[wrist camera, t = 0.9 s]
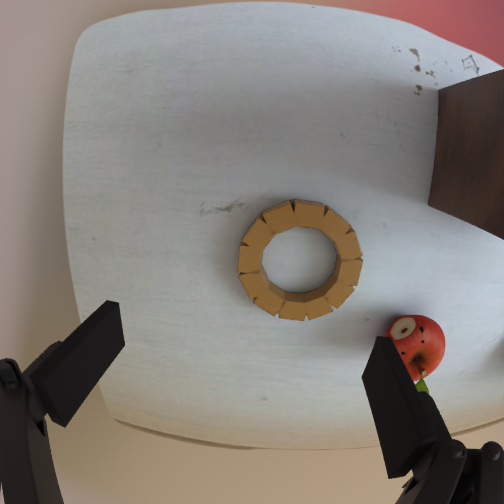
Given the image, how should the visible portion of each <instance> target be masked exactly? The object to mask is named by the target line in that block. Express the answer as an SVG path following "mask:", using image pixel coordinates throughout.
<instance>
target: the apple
mask: <svg viewBox="0 0 504 504" xmlns="http://www.w3.org/2000/svg"><path fill="white" fill-rule="evenodd" d="M385 337H391V339H392V340H393V342H394V344H395V346H396V348H397V350H398V352H399V354H400V356H401V358H402V360H403V362H404V364H405V366H406V368H407V370H408V372H409V374H410V376H411V378H412V380H413V381H417V380H419V381H418V383H417V384H416V385H415V386H416V388H417V390H418V391H426V392H427V393H428V394H429V391H428V388H427V386H426V384H425V382H424V380H423V378H424V377H426V376H428V375H429V374H430V373H431V372H433V371H434V370H435V368H436V367H437V366H438V365H439V364H440V362H441V360H442V358H443V356H444V352H445V337H444V333H443V331H442V329H441V327H440V326H439V325H438V324H437V323H436V322H435V321H434V320H432V319H430V318H428V317H425V316H422V315H405V316H401V317H399V318H398V319H397V320H396V321H394V323H393V324H392V325H391V326H390V327H389V328H388V330H387V331H386V334H385Z"/></svg>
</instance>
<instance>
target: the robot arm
mask: <svg viewBox="0 0 504 504" xmlns="http://www.w3.org/2000/svg"><path fill="white" fill-rule="evenodd" d="M124 346H125V341H124V335H123V329H122V322H121V315H120V308H119V303H117V302H113V301H108V300H107V301H105V302H104V303H103V304H102V305H101V306H100V307H99V308H98V309H97V310H96V311H95V312H93V313H92V314H91V315H90V316H89V317H88V318H87V319H86V320H85V321H84V322H83V323H82V324H81V325H80V326H79V327H78V328H77V329H76V330H74V331H73V332H72V333H71V334H70V335H69V336H68V337H67V338H66V339H65V340H64V341H63V342H61V341H58V342H56V343H54V344H52V345H50V346H49V347H48V348H47V349H46V350H45V351H44V353H42V354H41V355H40V356H39V358H37V359H36V360H35V361H34V362H33V363H32V364H31V365H30V366H29V367H28V368H27V369H26V370H25V371H24V372H23V373H21V371H20V368H19V367H18V364H17V362H16V361H15V360H13V359H7V358H6V359H2V360H0V490H1V483H2V489H3V495H4V502H5V504H64V502H63V499H62V496H61V492H60V489H59V485H58V481H57V477H56V473H55V469H54V464H53V460H52V455H51V449H50V445H49V438H48V432H47V425H46V421H45V418H44V416H45V415H46V414H47V413H48V414H49V416H50V418H51V420H52V421H53V422H55V423H57V424H59V425H60V426H63V427H66V426H67V424H68V423H69V422H70V420H71V419H72V417H73V416H74V414H75V413H76V411H77V410H78V409H79V407H80V406H81V404H82V403H83V402H84V400H85V399H86V397H87V396H88V395H89V393H90V392H91V390H92V389H93V388H94V386H95V385H96V383H97V382H98V381H99V379H100V378H101V377H102V375H103V374H104V373H105V371H106V370H107V369H108V367H109V366H110V365H111V363H112V362H113V361H114V359H115V358H116V357H117V355H118V354H119V353H120V351H121V350H122V349H123V347H124ZM362 380H363V383H364V387H365V390H366V394H367V397H368V400H369V404H370V408H371V411H372V415H373V418H374V422H375V426H376V429H377V433H378V437H379V441H380V445H381V448H382V453H383V457H384V461H385V465H386V470H387V474H388V479H392V478H398V477H403V476H405V475H406V474H407V473H408V472H409V471H410V470H411V469H412V471H413V476H412V478H410V480H409V481H407V482H406V484H404V486H403V487H402V488H404V487H405V489H404V491H403V493H402V494H401V496H400V497H399V499H398V500H397V502H396V503H395V504H504V450H503V449H502V447H501V446H500V445H499V444H498V443H496V442H493V441H490V442H487V443H485V444H484V445H483V447H482V448H481V449H467V448H466V447H465V446H464V444H463V443H462V442H460V441H458V440H455V439H452V438H451V436H450V434H449V431H448V429H447V427H446V425H445V423H444V421H443V418H442V416H441V415H440V412H439V410H438V408H437V406H436V404H435V402H434V400H433V398H432V397H431V396H430V395H429V394H428V393H427V392H426V391H418V390H417V388H416V386H415V384H414V382H413V380H412V378H411V376H410V374H409V372H408V370H407V368H406V366H405V364H404V362H403V360H402V358H401V356H400V354H399V352H398V350H397V348H396V346H395V344H394V342H393V340H392V339H391V337H383V336H377V338H376V341H375V344H374V347H373V349H372V352H371V355H370V357H369V360H368V363H367V365H366V368H365V370H364V373H363V375H362Z"/></svg>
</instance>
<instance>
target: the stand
mask: <svg viewBox="0 0 504 504" xmlns="http://www.w3.org/2000/svg"><path fill="white" fill-rule="evenodd" d="M428 206H430V207H433V208H435V209H438V210H440V211H442V212H445V213H447V214H449V215H452V216H454V217H456V218H459V219H461V220H463V221H465V222H468V223H470V224H472V225H474V226H476V227H478V228H481V229H483V230H485V231H487V232H489V233H491V234H493V235H495V236H497V237H499V238H501V239H503V240H504V69H503V70H499V71H496V72H492V73H489V74H486V75H482V76H479V77H476V78H473V79H469V80H466V81H463V82H460V83H457V84H454V85H451V86H448V87H445V88H443V89H440V90H439V108H438V128H437V141H436V152H435V161H434V169H433V177H432V183H431V190H430V196H429V202H428Z"/></svg>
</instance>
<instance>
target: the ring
mask: <svg viewBox="0 0 504 504" xmlns="http://www.w3.org/2000/svg"><path fill="white" fill-rule="evenodd" d="M295 226H300V227H307V228H315V229H319V230H320V231H321V232H322V233H324V234H325V235H326V236H328V237H329V238H330V239H331V240H333V243H334V246H335V248H336V251H337V260H336V265H335V269H334V273H333V274H332V275H331V276H330V278H329V279H328V280H327V281H326V282H325V283H324V284H323V286H322V287H320V288H317V289H314V290H312V291H309V292H307V293H304V294H302V293H294V292H285V291H283V290H282V289H281V288H279V287H278V286H276V285H275V284H273V283H272V282H271V281H269V279H268V277H267V275H266V272H265V270H264V268H263V266H262V255H263V250H264V249H265V247H266V246H267V245H268V243H269V242H270V241H271V240H272V238H273V237H274V236H275V234H278V233H280V232H283V231H285V230H288V229H290V228H293V227H295ZM361 256H362V252H361V249H360V245H359V242H358V239H357V236H356V234H355V231H354V230H353V229H352V228H351V225H350V224H349V223H348V222H347V221H346V220H345V219H343V218H342V217H341V216H340V215H339V214H337V213H336V212H335V211H334V210H332V209H331V208H330V207H329V206H327V205H326V206H324V205H323V204H322V203H319V202H312V201H305V200H297V199H295V200H294V206H293V207H292V204H291V202H290V200H288V201H285V202H283V203H280V204H278V205H276V206H273V207H271V208H268V209H266V210H264V212H263V215H261V214H259V215H258V217H257V218H256V220H255V221H254V222H253V224H252V225H251V226H250V228H249V229H248V230H247V232H246V233H245V234H244V237H243V239H242V242H241V244H240V247H239V259H238V272H240V274H239V279H240V281H241V283H242V285H243V287H244V289H245V291H246V292H247V294H248V296H249V298H250V299H252V298H254V301H253V303H254V304H256V305H257V306H259V307H260V308H262V309H263V310H265V311H266V312H268V313H269V314H271V315H272V316H275V315H276V314H277V313H278V312H279V318H282V319H291V320H300V321H304V320H305V315H307V317H308V320H311V319H314V318H317V317H320V316H322V315H325V314H328V313H330V312H333V309H332V306H334V307H335V308H337V309H338V308H339V306H340V305H341V304H342V303H343V302H344V301H345V300H346V299H347V298H348V297H349V296H350V295H351V293H352V292H353V291H354V288H353V286H352V285H354V286H357V284H358V280H359V276H360V271H361V267H362V263H363V260H362V259H361Z"/></svg>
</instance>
